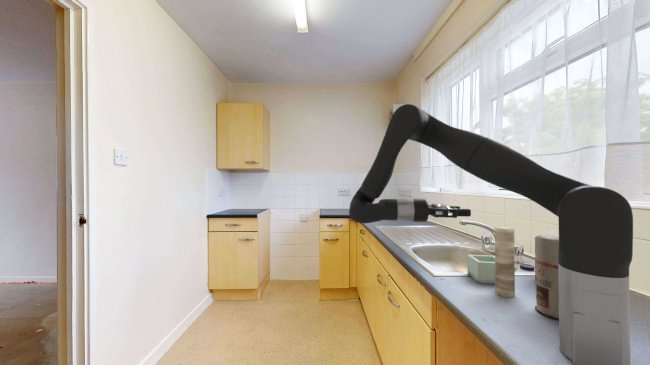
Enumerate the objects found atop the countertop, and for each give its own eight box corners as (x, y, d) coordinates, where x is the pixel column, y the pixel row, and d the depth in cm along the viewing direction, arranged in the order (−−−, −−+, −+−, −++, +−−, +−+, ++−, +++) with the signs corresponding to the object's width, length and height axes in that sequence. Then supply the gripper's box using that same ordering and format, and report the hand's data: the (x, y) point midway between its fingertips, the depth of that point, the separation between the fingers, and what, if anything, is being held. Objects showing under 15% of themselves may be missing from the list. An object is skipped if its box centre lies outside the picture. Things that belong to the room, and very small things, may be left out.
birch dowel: (514, 299, 72) (513, 230, 72) (494, 294, 75) (494, 228, 75) (515, 293, 76) (514, 228, 76) (496, 289, 79) (495, 226, 79)
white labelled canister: (531, 303, 69) (531, 232, 70) (571, 310, 65) (571, 235, 65) (538, 317, 62) (538, 237, 62) (584, 326, 58) (583, 241, 58)
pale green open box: (507, 284, 82) (507, 263, 82) (478, 282, 84) (478, 262, 84) (493, 274, 91) (493, 255, 91) (467, 273, 93) (467, 254, 93)
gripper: (415, 200, 73) (474, 200, 70) (407, 197, 87) (456, 197, 84) (415, 225, 73) (474, 227, 70) (407, 218, 87) (456, 219, 84)
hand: (464, 211), depth 77 cm, fingers open, 8 cm apart
